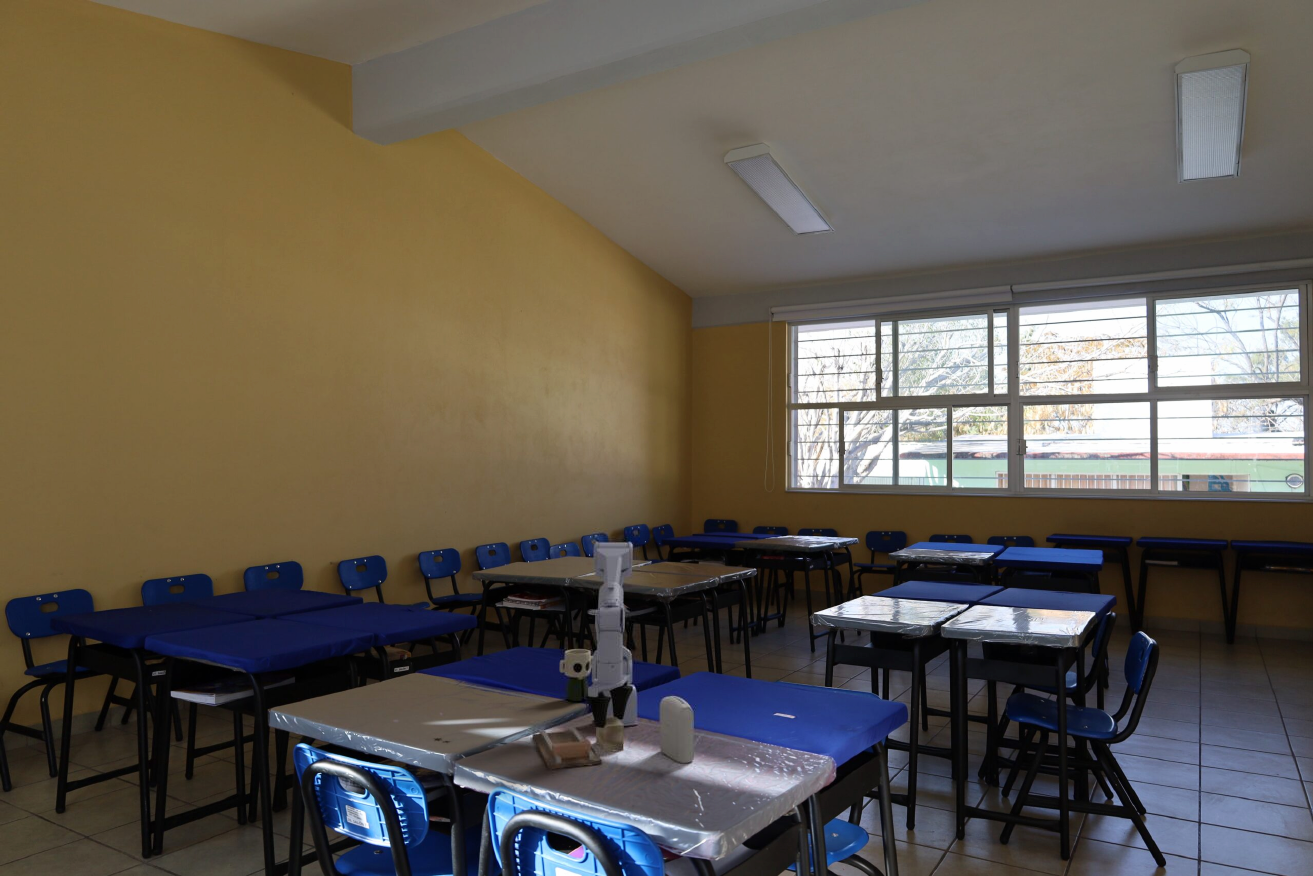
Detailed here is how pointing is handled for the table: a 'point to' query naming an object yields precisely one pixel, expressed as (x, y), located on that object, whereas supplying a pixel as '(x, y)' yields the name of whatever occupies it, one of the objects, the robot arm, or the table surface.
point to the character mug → (577, 672)
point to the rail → (556, 755)
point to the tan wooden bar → (571, 749)
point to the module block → (610, 735)
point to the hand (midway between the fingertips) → (609, 723)
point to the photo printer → (677, 729)
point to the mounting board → (565, 762)
